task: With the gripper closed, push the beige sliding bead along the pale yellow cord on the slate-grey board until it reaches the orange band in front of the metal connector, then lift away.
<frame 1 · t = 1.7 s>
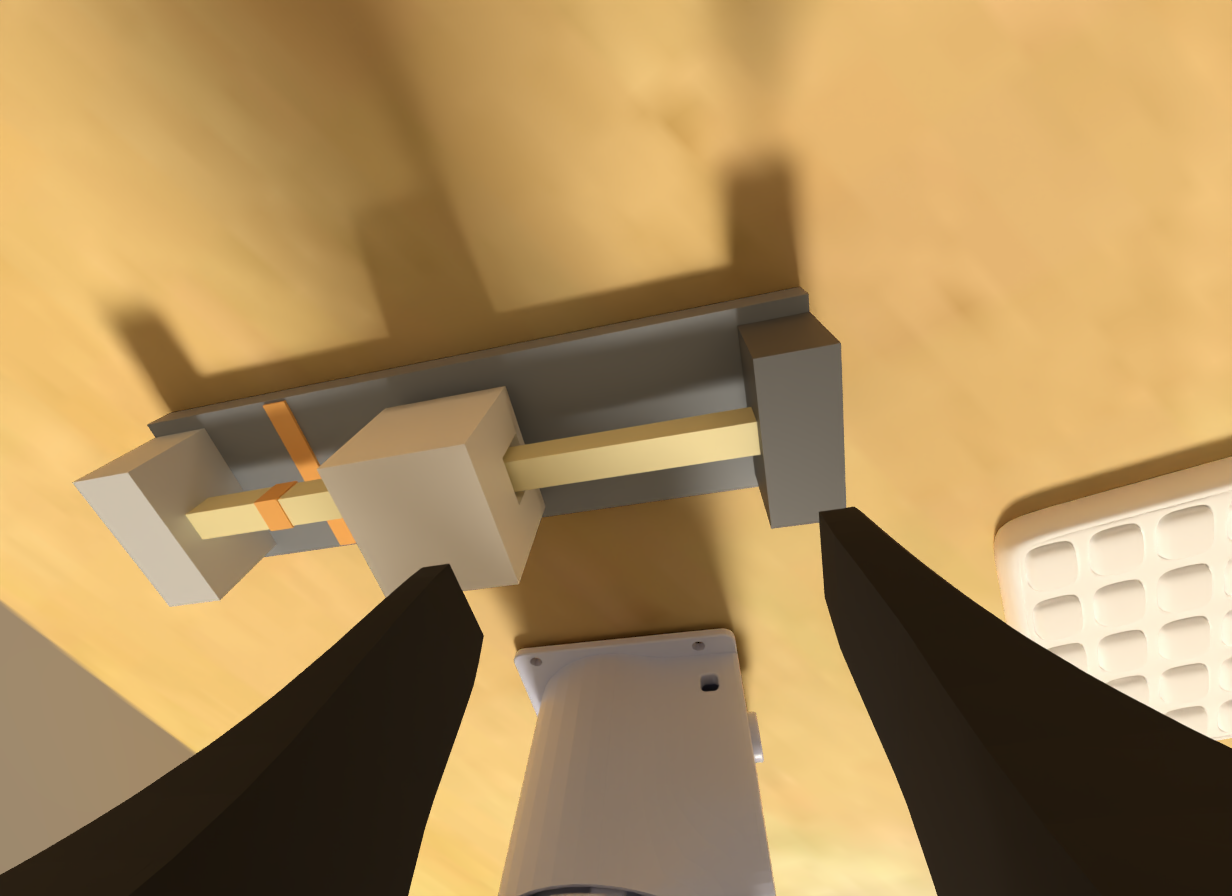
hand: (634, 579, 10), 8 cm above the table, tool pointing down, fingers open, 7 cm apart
cord board: (482, 437, 19), on the table
beige sliding bead: (447, 490, 16), point 3 cm above the table, slide at 0.0 cm
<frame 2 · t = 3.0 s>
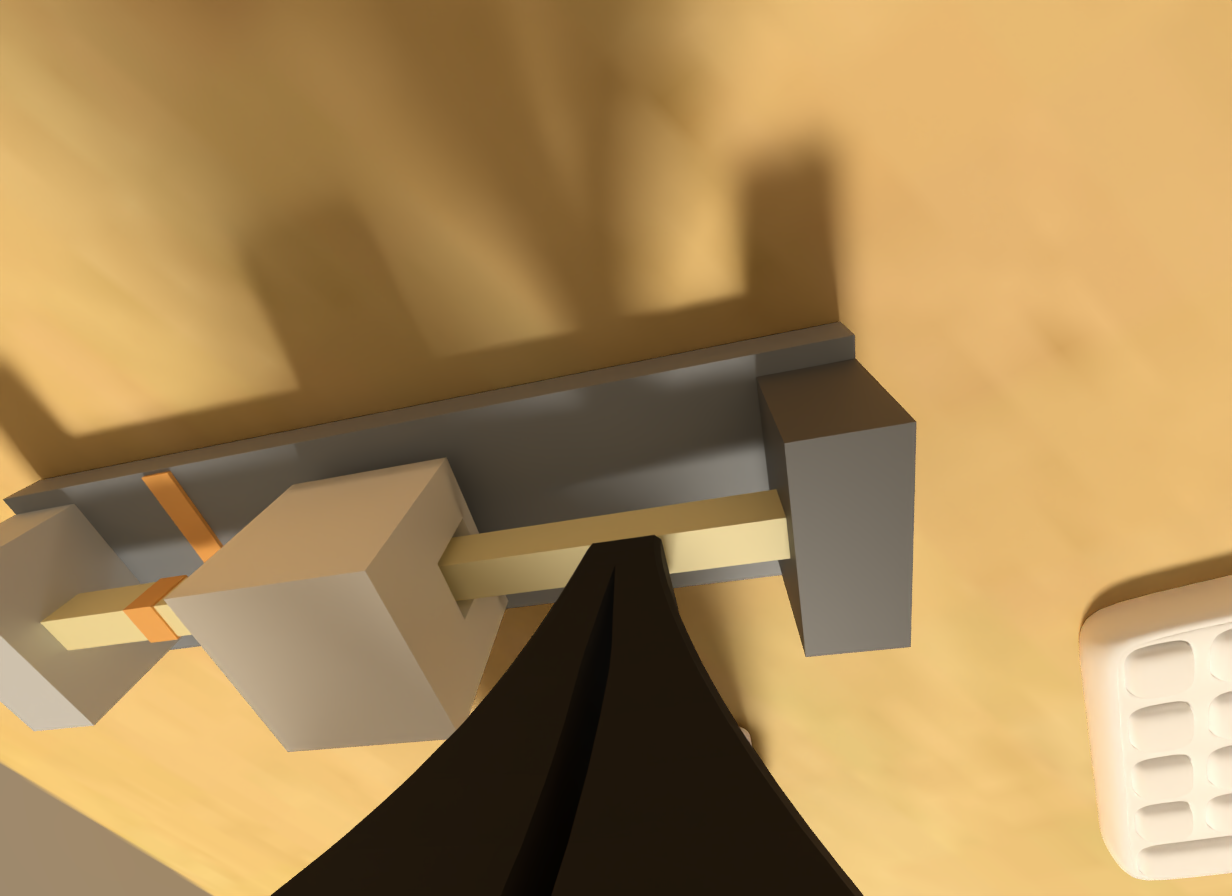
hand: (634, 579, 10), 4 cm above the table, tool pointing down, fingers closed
cord board: (429, 508, 15), on the table
beige sliding bead: (369, 600, 12), point 3 cm above the table, slide at 0.0 cm
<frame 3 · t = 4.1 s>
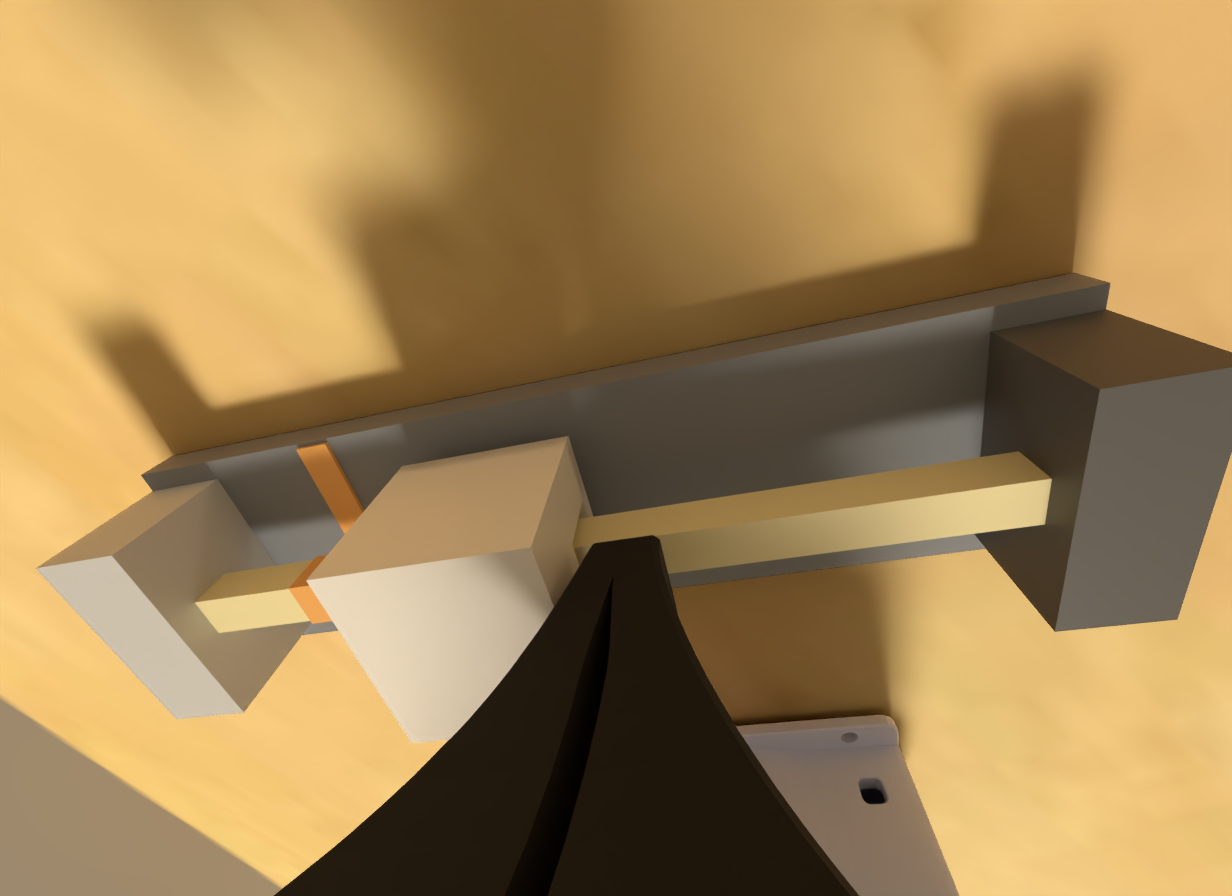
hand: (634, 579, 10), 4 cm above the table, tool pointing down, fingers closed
cord board: (587, 483, 14), on the table
beige sliding bead: (492, 584, 11), point 4 cm above the table, slide at 1.7 cm, touching gripper
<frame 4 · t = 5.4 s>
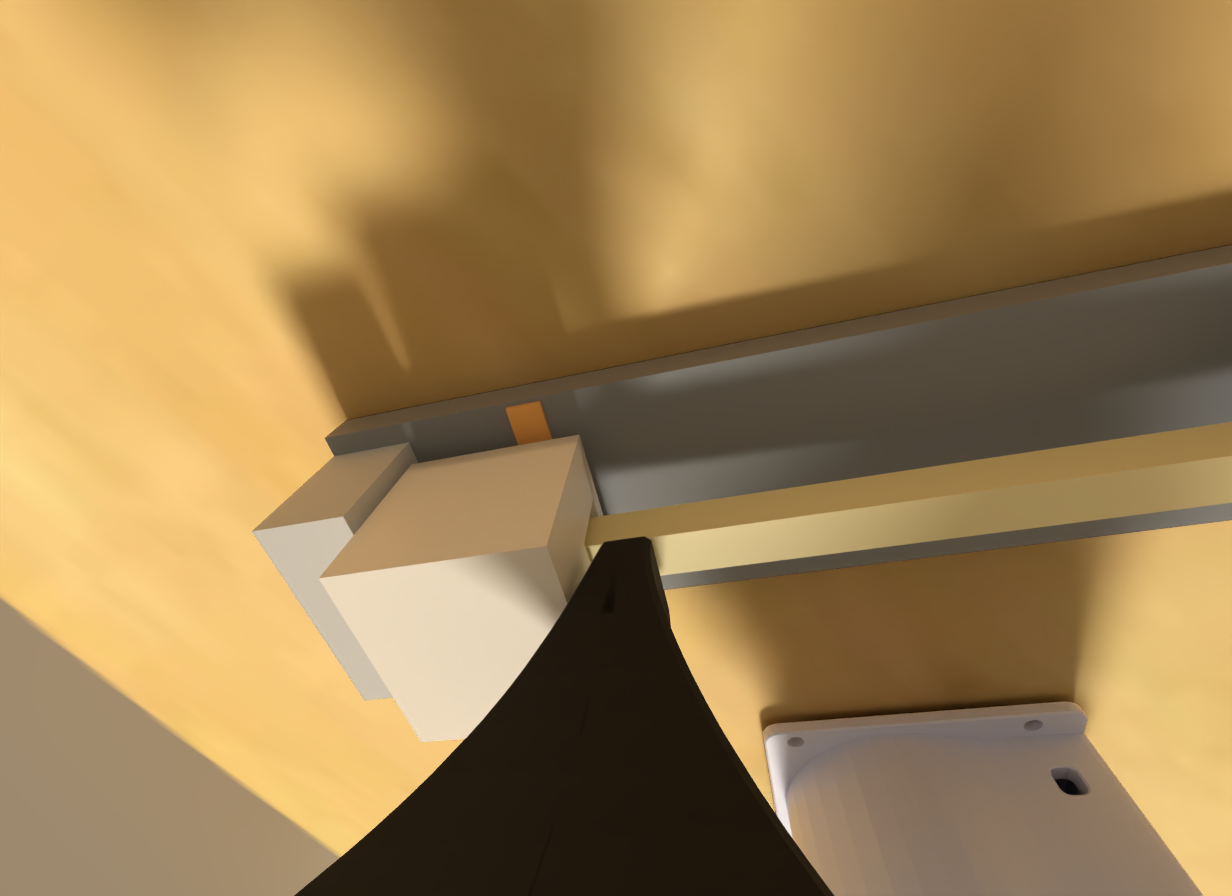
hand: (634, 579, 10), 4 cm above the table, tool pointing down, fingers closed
cord board: (799, 450, 13), on the table
beige sliding bead: (502, 583, 11), point 3 cm above the table, slide at 6.8 cm, touching gripper
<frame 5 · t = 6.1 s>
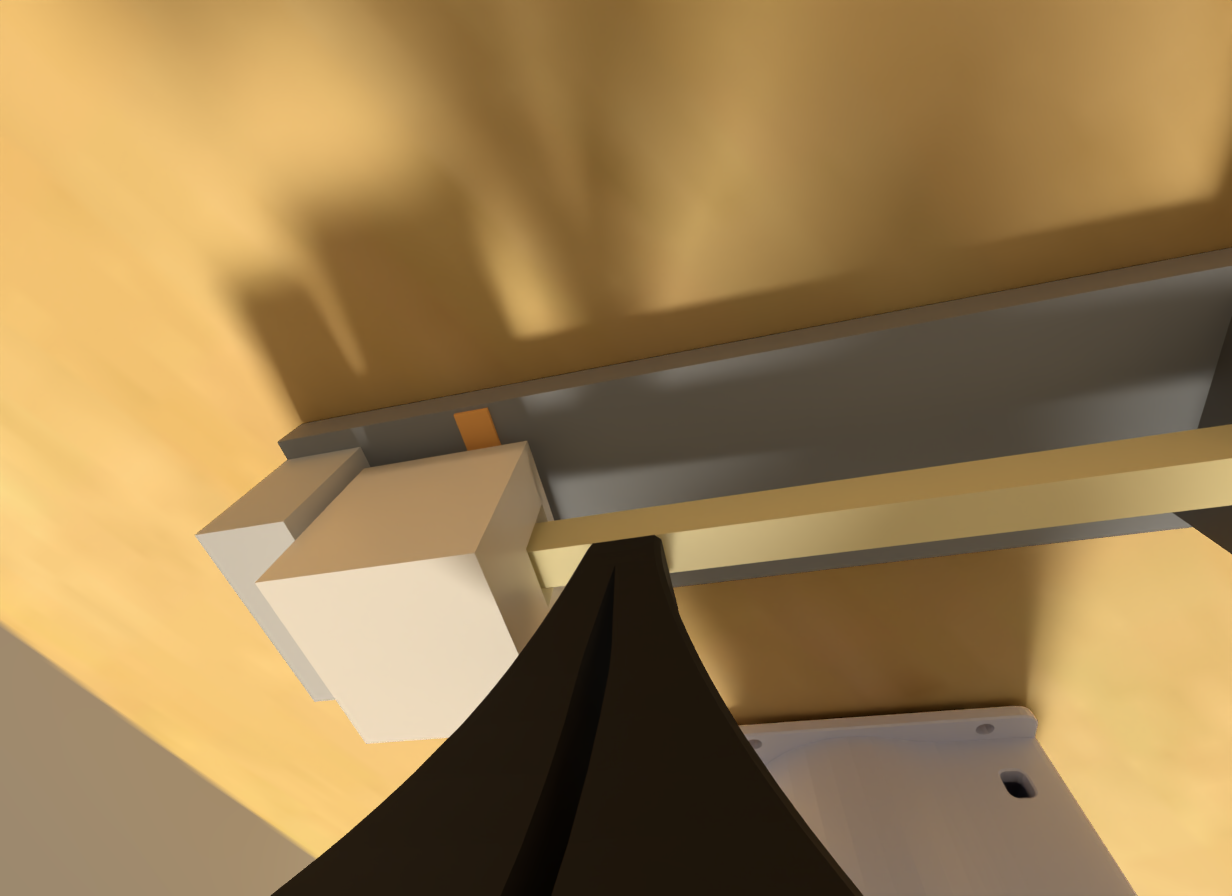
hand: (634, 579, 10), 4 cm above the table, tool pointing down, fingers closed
cord board: (747, 457, 13), on the table
beige sliding bead: (449, 587, 11), point 4 cm above the table, slide at 6.7 cm
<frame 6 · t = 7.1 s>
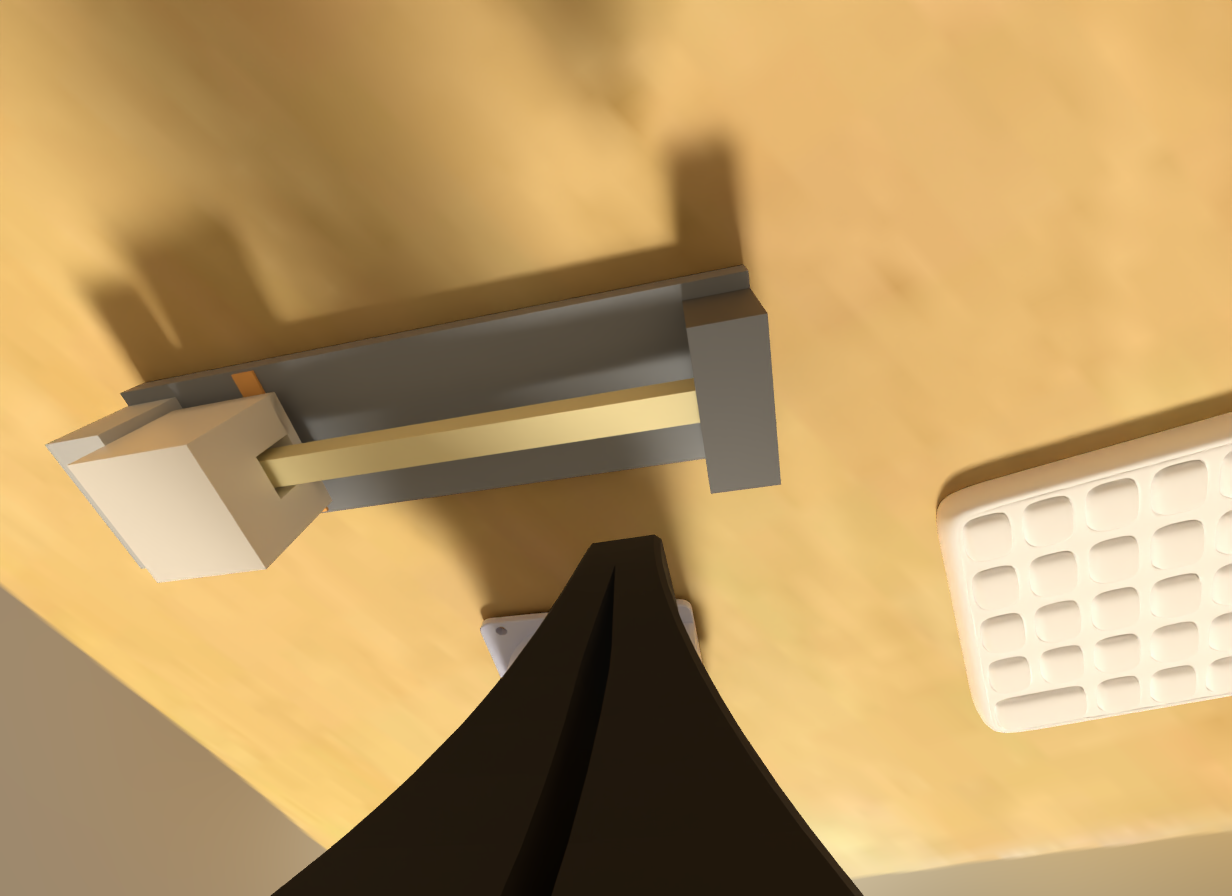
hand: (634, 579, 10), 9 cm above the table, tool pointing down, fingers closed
cord board: (445, 409, 20), on the table
beige sliding bead: (217, 485, 18), point 4 cm above the table, slide at 6.7 cm
calculator: (1223, 544, 21), on the table
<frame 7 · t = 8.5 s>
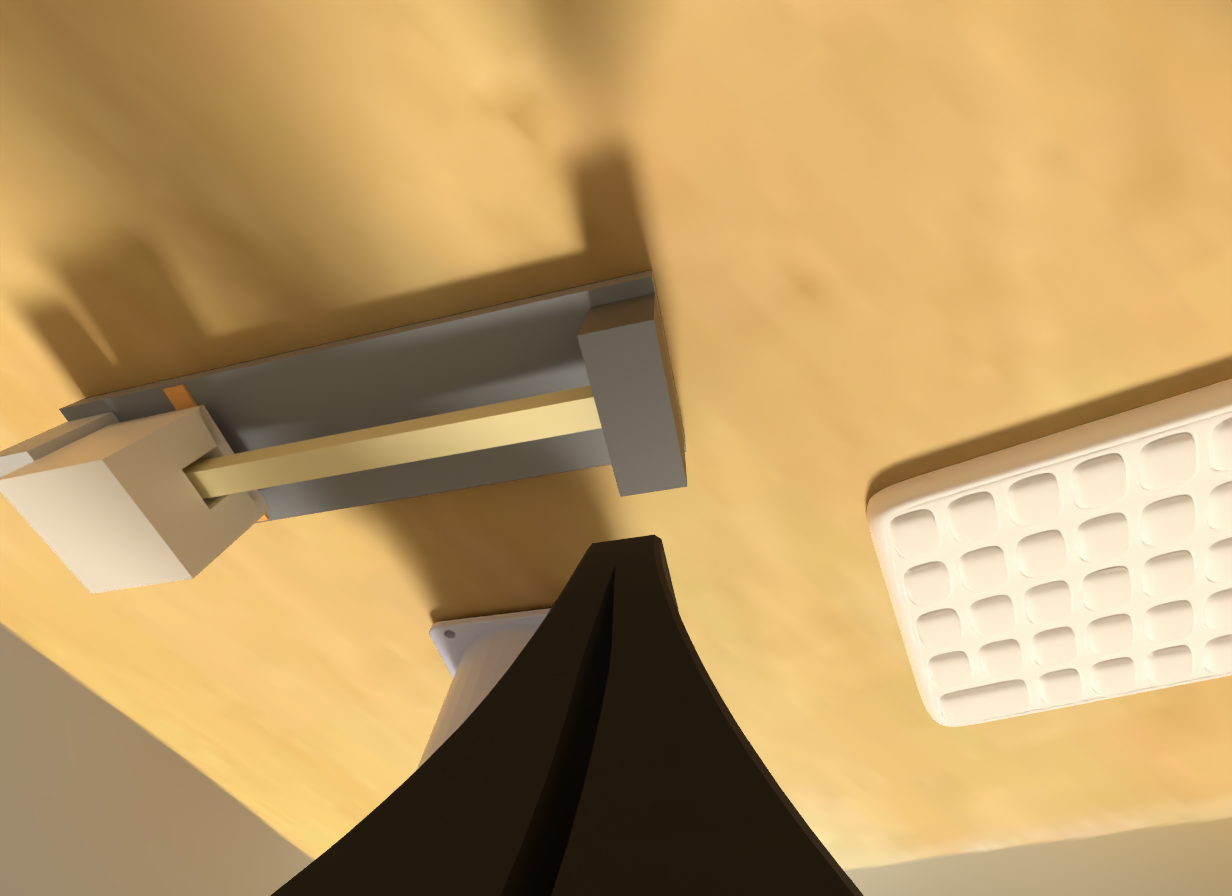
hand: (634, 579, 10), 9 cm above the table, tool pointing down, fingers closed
cord board: (376, 417, 20), on the table
beige sliding bead: (148, 497, 18), point 4 cm above the table, slide at 6.7 cm
calculator: (1157, 536, 21), on the table
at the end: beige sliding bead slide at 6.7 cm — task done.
